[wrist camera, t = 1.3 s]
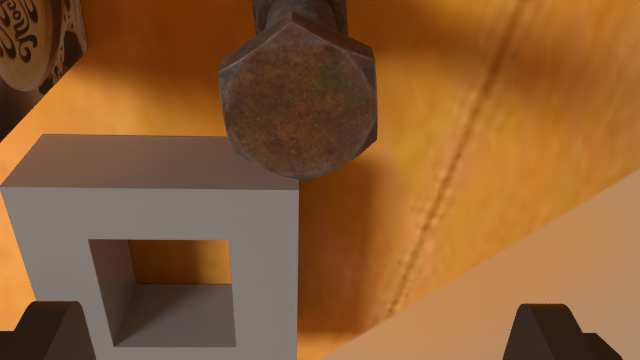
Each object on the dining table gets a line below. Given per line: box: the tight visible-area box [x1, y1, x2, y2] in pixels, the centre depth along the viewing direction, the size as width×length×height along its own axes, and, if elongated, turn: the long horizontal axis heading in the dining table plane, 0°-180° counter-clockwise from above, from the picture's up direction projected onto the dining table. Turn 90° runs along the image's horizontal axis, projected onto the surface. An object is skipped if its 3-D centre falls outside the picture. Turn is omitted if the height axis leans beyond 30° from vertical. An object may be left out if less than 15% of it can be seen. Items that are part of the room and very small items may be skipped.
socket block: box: [0, 134, 299, 360], centre depth 37 cm, size 16×16×6 cm
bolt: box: [218, 0, 377, 180], centre depth 25 cm, size 6×5×15 cm
